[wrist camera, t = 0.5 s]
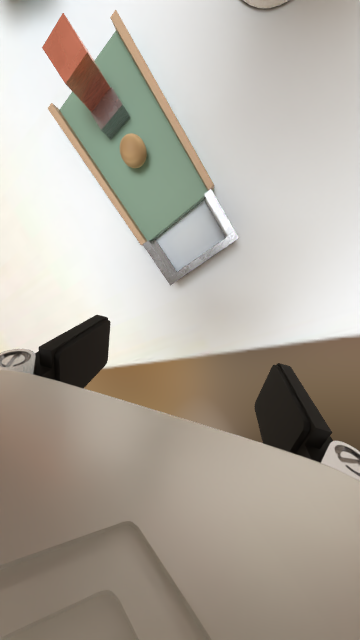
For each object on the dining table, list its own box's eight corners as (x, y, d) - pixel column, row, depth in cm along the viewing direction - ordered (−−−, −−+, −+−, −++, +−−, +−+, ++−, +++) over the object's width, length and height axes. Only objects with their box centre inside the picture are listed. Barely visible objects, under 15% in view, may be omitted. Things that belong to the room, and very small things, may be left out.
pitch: (63, 121, 33) (47, 108, 30) (127, 36, 28) (115, 9, 25) (147, 245, 37) (141, 245, 34) (214, 191, 32) (214, 184, 29)
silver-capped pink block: (80, 92, 29) (35, 39, 22) (99, 65, 28) (58, 0, 21) (110, 139, 31) (77, 105, 24) (130, 117, 29) (101, 72, 22)
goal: (152, 245, 37) (142, 244, 33) (211, 197, 33) (210, 188, 28) (175, 280, 39) (170, 285, 34) (235, 239, 34) (239, 238, 30)
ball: (126, 141, 31) (114, 126, 27) (150, 142, 30) (141, 127, 26) (126, 171, 32) (115, 161, 28) (149, 172, 32) (140, 162, 28)
